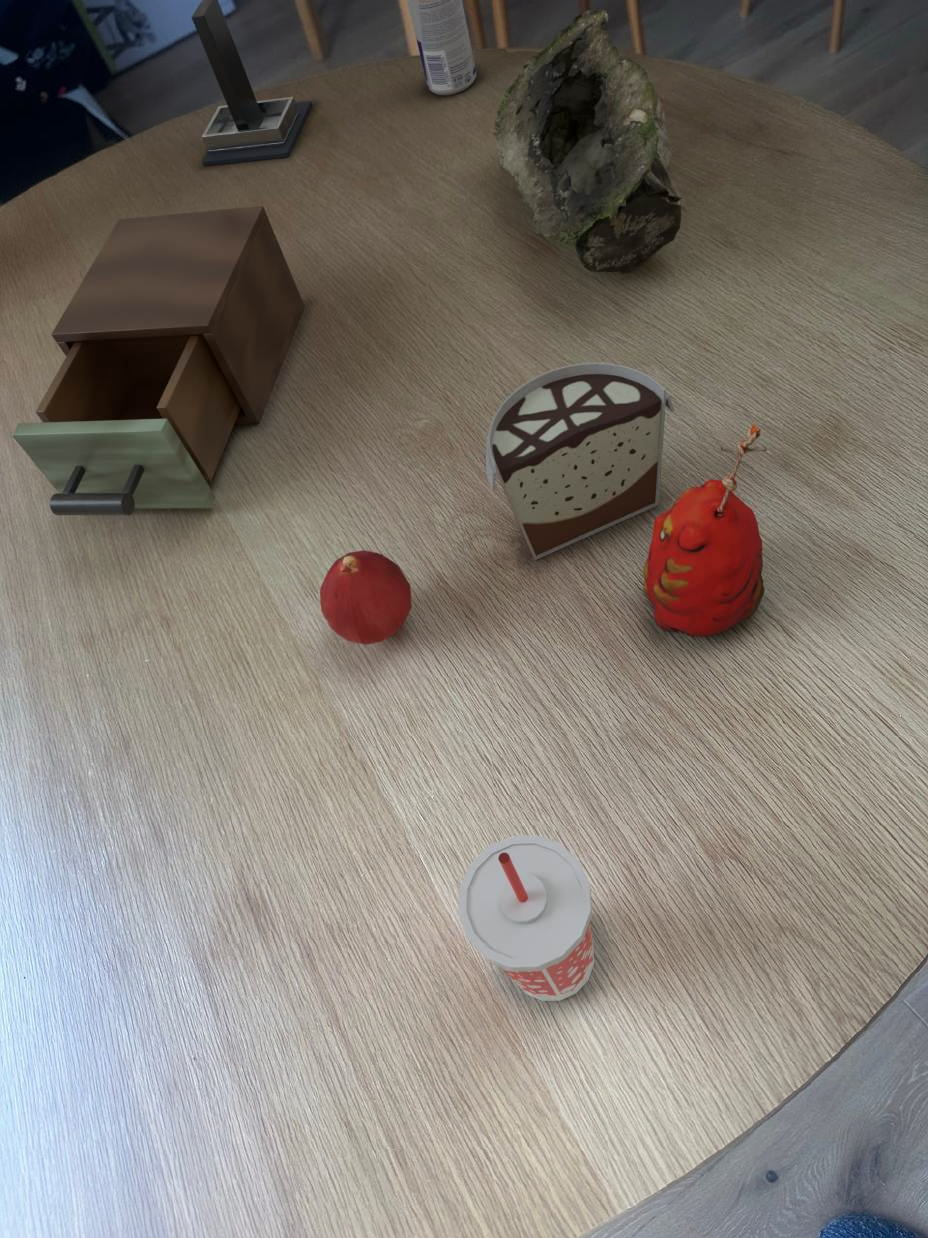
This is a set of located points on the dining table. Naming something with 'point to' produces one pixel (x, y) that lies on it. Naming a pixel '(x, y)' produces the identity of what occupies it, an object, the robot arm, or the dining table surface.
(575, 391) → the food container
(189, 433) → the drawer
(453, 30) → the energy drink
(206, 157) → the desk mat
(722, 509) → the red clay folk toy
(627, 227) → the mossy hollow log
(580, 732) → the dining table surface
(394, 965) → the dining table surface
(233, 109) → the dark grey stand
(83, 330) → the cabinet
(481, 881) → the beverage cup
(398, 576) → the onion
